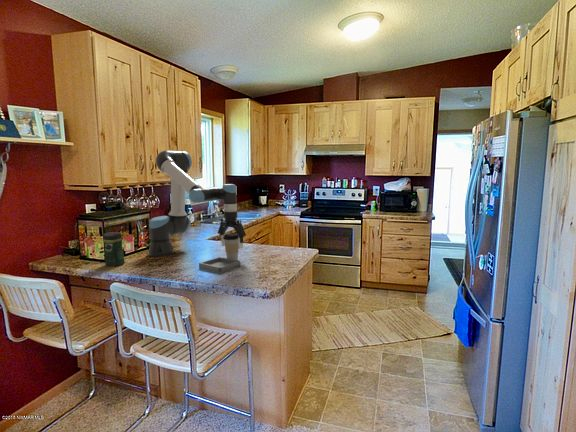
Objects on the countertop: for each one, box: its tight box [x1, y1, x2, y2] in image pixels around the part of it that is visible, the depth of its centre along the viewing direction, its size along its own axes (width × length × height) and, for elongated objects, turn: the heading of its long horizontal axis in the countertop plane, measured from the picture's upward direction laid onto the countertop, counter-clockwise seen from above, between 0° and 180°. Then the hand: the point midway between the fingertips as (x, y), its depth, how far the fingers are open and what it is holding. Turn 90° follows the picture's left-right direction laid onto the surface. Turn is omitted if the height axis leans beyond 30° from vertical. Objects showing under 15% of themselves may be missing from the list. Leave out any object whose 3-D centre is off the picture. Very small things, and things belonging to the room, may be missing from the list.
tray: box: [198, 256, 241, 274], centre depth 187 cm, size 16×15×3 cm
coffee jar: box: [102, 231, 125, 267], centre depth 194 cm, size 10×8×19 cm
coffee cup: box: [223, 233, 239, 261], centre depth 202 cm, size 9×9×15 cm
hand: (232, 247), depth 201 cm, fingers open, 13 cm apart
